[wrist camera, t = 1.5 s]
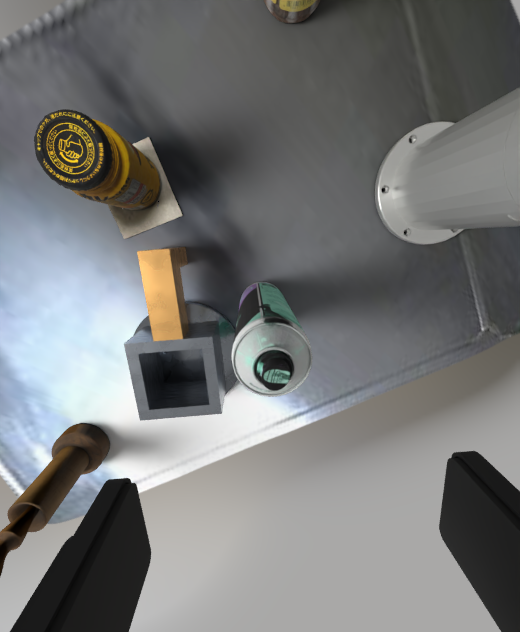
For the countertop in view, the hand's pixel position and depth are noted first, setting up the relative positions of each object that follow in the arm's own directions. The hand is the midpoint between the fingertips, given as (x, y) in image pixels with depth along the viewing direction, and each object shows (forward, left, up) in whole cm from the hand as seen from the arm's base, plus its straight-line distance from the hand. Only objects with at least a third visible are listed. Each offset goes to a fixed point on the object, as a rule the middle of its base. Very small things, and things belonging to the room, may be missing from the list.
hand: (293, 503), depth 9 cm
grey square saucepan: (+10, +3, -28) cm, 30 cm away
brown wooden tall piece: (+26, +18, -28) cm, 42 cm away
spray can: (0, 0, -28) cm, 28 cm away
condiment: (+13, -14, -29) cm, 34 cm away
